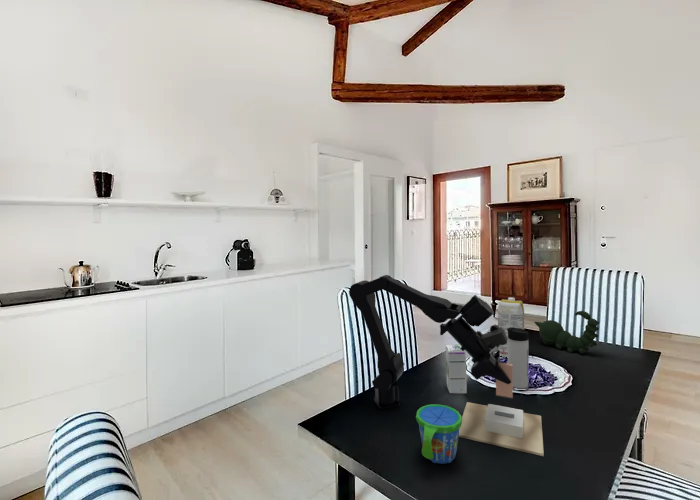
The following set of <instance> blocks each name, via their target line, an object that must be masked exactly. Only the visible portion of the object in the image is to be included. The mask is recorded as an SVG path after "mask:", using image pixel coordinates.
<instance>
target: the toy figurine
mask: <svg viewBox="0 0 700 500" xmlns="http://www.w3.org/2000/svg"><path fill="white" fill-rule="evenodd" d="M574 316H581V317H582V318H584V320H587V322H586V325H585V328H584V329H585V330H583V332H582V335H581V336H580V337H579V336H575V335H572V334H571V333H570V332H569V331H567V330H565V329H564V328H563V325H561V323H559V322H558V321H555V320H552V319H551V320H550V319H549V320H548V319H547V320H545V321H542V322H541V321H534V322H533V323H534V324H535V325H536V326H537V327H538V328H539V329H538V331H539V337H540V338H542V339H543V340H542V342H543V343H544V345H546V346H550V345H552V343H555V347H556V348H557V349H559V350H560V349H563V348H567V349H566V350H567V352H568V353H570V354H571V353H573V352H574V351H578V352H579V353H580V354H584V353H585V352H588V351H589V350H590V348H593V347H596V346H598V345H597V344H598V342H596V341H595V338H596V339H598V337H599V335H598V334H597V333H596V332H598V331H599V329H600V328H599V327H597V326H598V325H599V324H600V322H599V321H598V320H597V319H595V318H592V317H591V314H590V313H588V311H584V310H579V311H576V312H575V313H574Z"/></svg>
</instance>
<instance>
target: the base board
mask: <svg viewBox="0 0 700 500" xmlns="http://www.w3.org/2000/svg"><path fill="white" fill-rule="evenodd" d="M487 407H488V405H485V404H479V403H473V402H468V401H467V402H466V404H465V407H464V410H463V414H462V415H461V416H462V424H461V427H460V429H459V437H458V438H463V439H467V440H470V441H471V440H472V441H475V442H480V443H485V444H488V445H493V446H497V447H501V448H506V449H509V450H515V451H518V452H523V453H527V454H533V455H536V456H541V457H545V456H544V439H543V437H544V436H543V426H542V423H543V422H542V416H541V415H538V414H532V413H527V412H523V439H522V438H517V437H512V436H508V435H503V434H498V433H494V432H489V431H485V417H486V412H487Z"/></svg>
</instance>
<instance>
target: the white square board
mask: <svg viewBox="0 0 700 500" xmlns="http://www.w3.org/2000/svg"><path fill="white" fill-rule="evenodd" d="M487 406H488V407H487V412H486V417H485V431H489V432H494V433H498V434H503V435H508V436H512V437H517V438H522V439H523V413H524V410H523V409H518V408H514V407H509V406H502V405H497V404H492V403H487Z"/></svg>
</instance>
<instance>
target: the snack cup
mask: <svg viewBox="0 0 700 500" xmlns="http://www.w3.org/2000/svg"><path fill="white" fill-rule="evenodd" d="M462 416H463V415H462V414H460V412H459V411H458V410H456V409H455V408H454V407H451V406H449V405H445V404H436V403H435V404H434V403H433V404H432V403H431V404H426V405H424V406H420V408H419V409H417V411H416V415H415V419H416V422H417V424H418V428H419V433H420V439H421V445H422V447H421V454H422V456H423V457H424V458H425V459H428V460H429V461H431V462H432V463H434V464H441V465H442V464H450V463H452V462H453V460H455V458H456V454H457V451H458V442H459V438H460V437H459V429H460V427H461V424H462Z"/></svg>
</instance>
